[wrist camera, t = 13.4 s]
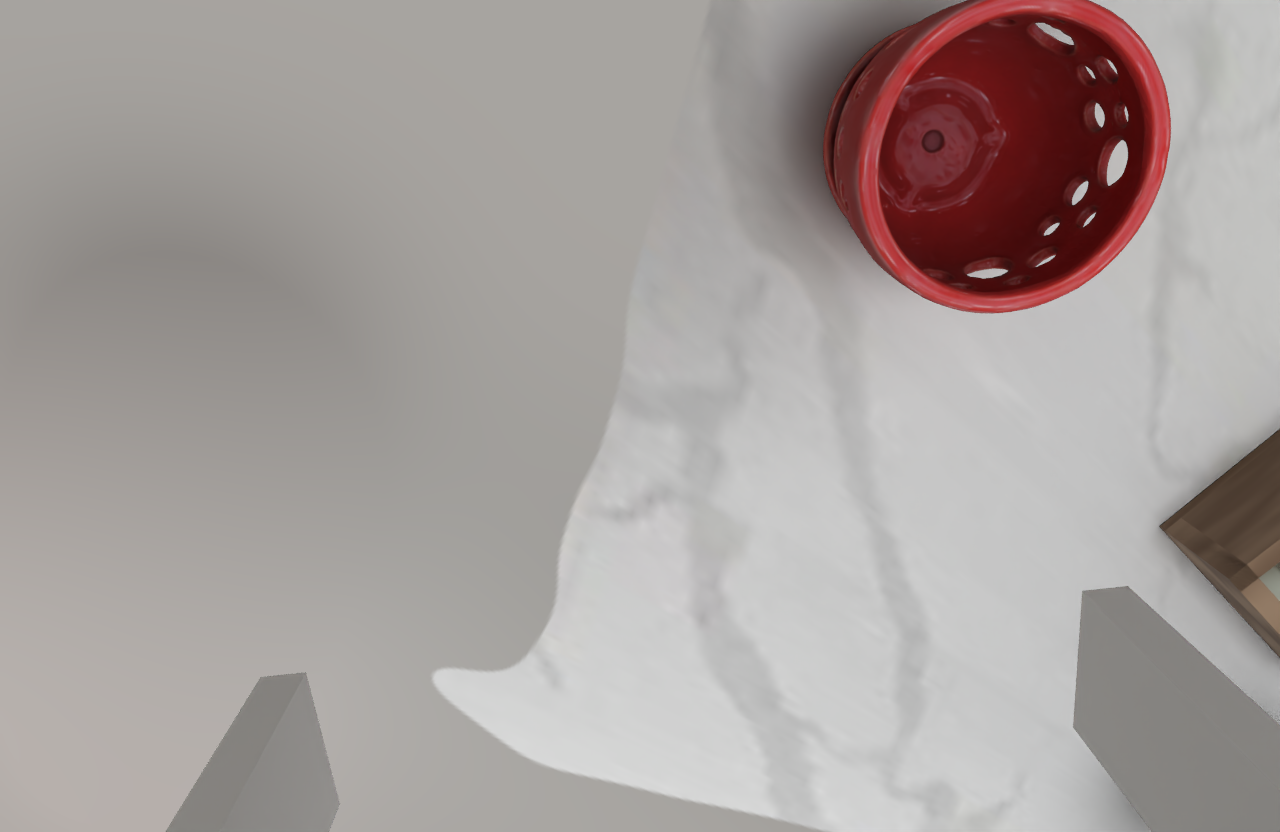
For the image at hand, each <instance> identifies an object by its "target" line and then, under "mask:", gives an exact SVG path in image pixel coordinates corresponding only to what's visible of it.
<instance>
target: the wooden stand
mask: <svg viewBox="0 0 1280 832" xmlns="http://www.w3.org/2000/svg"><path fill="white" fill-rule="evenodd" d="M1159 527H1160V528H1161V529H1162V530H1163V531H1164V532H1165V533H1166V534H1167V535H1168V537H1169V538H1170V539H1171V540H1172V541H1173V542H1174V543H1175V544H1176V545H1177V546H1178V547H1179V549H1180V550H1181V551H1182V552H1183V553H1184V554H1185V555H1186V556H1187V557H1188V558H1189V559H1190V561H1191V562H1192V563H1193V564H1194V565H1195V566H1196V567H1197V568H1198V569H1199V570H1200V571H1201V573H1202V574H1203V575H1204V576H1205V577H1206V578H1207V579H1208V580H1209V581H1210V582H1211V583H1212V584H1213V586H1214V587H1215V588H1216V589H1217V590H1218V591H1219V592H1220V593H1221V594H1222V595H1223V596H1224V598H1225V599H1226V600H1227V601H1228V602H1229V603H1230V604H1231V605H1232V606H1233V607H1234V608H1235V610H1236V611H1237V612H1238V613H1239V614H1240V615H1241V616H1242V617H1243V618H1244V619H1245V620H1246V622H1247V623H1248V624H1249V625H1250V626H1251V627H1252V628H1253V629H1254V630H1255V631H1256V632H1257V634H1258V635H1259V636H1260V637H1261V638H1262V639H1263V640H1264V641H1265V642H1266V643H1267V644H1268V646H1269V647H1270V648H1271V649H1272V650H1273V651H1274V652H1275V653H1276V654H1277V655H1278V656H1279V657H1280V569H1279V568H1278V567H1277V566H1276V564H1278V563H1279V562H1280V430H1278V431H1277V432H1276V433H1275V434H1274V435H1272V436H1271V437H1270V438H1269V439H1267V440H1266V441H1265V442H1264V443H1262V444H1261V445H1260V446H1259V447H1257V448H1256V449H1255V450H1254V451H1252V452H1251V453H1250V454H1249V455H1247V456H1246V457H1245V458H1244V459H1243V460H1241V461H1240V462H1239V463H1238V464H1236V465H1235V466H1234V467H1233V468H1231V469H1230V470H1229V471H1228V472H1226V473H1225V474H1224V475H1223V476H1221V477H1220V478H1219V479H1218V480H1216V481H1215V482H1214V483H1213V484H1211V485H1210V486H1209V487H1208V488H1207V489H1205V490H1204V491H1203V492H1202V493H1200V494H1199V495H1198V496H1197V497H1195V498H1194V499H1193V500H1192V501H1190V502H1189V503H1188V504H1187V505H1185V506H1184V507H1183V508H1182V509H1180V510H1179V511H1178V512H1177V513H1176V514H1174V515H1173V516H1172V517H1171V518H1169V519H1168V520H1167V521H1166V522H1164V523H1163V524H1162V525H1161V526H1159Z"/></svg>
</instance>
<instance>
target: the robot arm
mask: <svg viewBox="0 0 1280 832" xmlns="http://www.w3.org/2000/svg"><path fill="white" fill-rule="evenodd" d="M1073 728H1074V729H1075V730H1076V732H1077V733H1078V734H1079V736H1080V737H1081V738H1082V740H1083V741H1084V742H1085V743H1086V745H1087V746H1088V747H1089V749H1090V750H1091V751H1092V753H1093V754H1094V755H1095V757H1096V758H1097V759H1098V761H1099V762H1100V763H1101V765H1102V766H1103V767H1104V769H1105V770H1106V771H1107V773H1108V774H1109V775H1110V777H1111V778H1112V779H1113V781H1114V782H1115V783H1116V785H1117V786H1118V787H1119V789H1120V790H1121V791H1122V792H1123V794H1124V795H1125V796H1126V798H1127V799H1128V800H1129V802H1130V803H1131V804H1132V806H1133V807H1134V808H1135V810H1136V811H1137V812H1138V814H1139V815H1140V816H1141V818H1142V819H1143V820H1144V822H1145V823H1146V824H1147V826H1148V827H1149V828H1150V830H1151V831H1152V832H1280V725H1279V724H1278V723H1277V722H1276V721H1275V720H1274V719H1272V718H1271V717H1270V716H1269V715H1268V714H1267V713H1266V712H1265V711H1264V710H1263V709H1262V708H1260V707H1259V706H1258V705H1257V704H1256V703H1255V702H1254V701H1253V700H1252V699H1251V698H1249V697H1248V696H1247V695H1246V694H1245V693H1244V692H1243V691H1242V690H1241V689H1240V688H1239V687H1237V686H1236V685H1235V684H1234V683H1233V682H1232V681H1231V680H1230V679H1229V678H1228V677H1226V676H1225V675H1224V674H1223V673H1222V672H1221V671H1220V670H1219V669H1218V668H1217V667H1216V666H1214V665H1213V664H1212V663H1211V662H1210V661H1209V660H1208V659H1207V658H1206V657H1205V656H1204V655H1202V654H1201V653H1200V652H1199V651H1198V650H1197V649H1196V648H1195V647H1194V646H1193V645H1191V644H1190V643H1189V642H1188V641H1187V640H1186V639H1185V638H1184V637H1183V636H1182V635H1181V634H1179V633H1178V632H1177V631H1176V630H1175V629H1174V628H1173V627H1172V626H1171V625H1170V624H1168V623H1167V622H1166V621H1165V620H1164V619H1163V618H1162V617H1161V616H1160V615H1159V614H1158V613H1156V612H1155V611H1154V610H1153V609H1152V608H1151V607H1150V606H1149V605H1148V604H1147V603H1145V602H1144V601H1143V600H1142V599H1141V598H1140V597H1139V596H1138V595H1137V594H1136V593H1135V592H1133V591H1132V590H1131V589H1130V588H1129V587H1128V586H1125V587H1116V588H1106V589H1097V590H1087V591H1082V604H1081V619H1080V633H1079V648H1078V663H1077V678H1076V692H1075V707H1074V722H1073ZM339 805H340V803H339V799H338V795H337V791H336V787H335V784H334V780H333V776H332V772H331V768H330V764H329V760H328V756H327V752H326V749H325V745H324V741H323V737H322V733H321V729H320V725H319V721H318V718H317V714H316V710H315V706H314V702H313V698H312V694H311V690H310V686H309V683H308V679H307V675H306V673H296V674H286V675H277V676H267V677H261V678H260V679H259V681H258V682H257V684H256V686H255V687H254V689H253V690H252V692H251V694H250V695H249V697H248V699H247V700H246V702H245V704H244V705H243V707H242V708H241V710H240V712H239V714H238V715H237V716H236V718H235V720H234V721H233V723H232V725H231V726H230V728H229V730H228V731H227V733H226V734H225V736H224V738H223V739H222V741H221V743H220V744H219V746H218V748H217V749H216V751H215V752H214V754H213V755H212V757H211V759H210V761H209V762H208V764H207V765H206V767H205V768H204V770H203V772H202V773H201V775H200V777H199V778H198V780H197V782H196V783H195V785H194V786H193V788H192V790H191V791H190V793H189V795H188V796H187V798H186V799H185V801H184V803H183V804H182V806H181V808H180V809H179V811H178V812H177V814H176V816H175V817H174V819H173V821H172V822H171V824H170V825H169V827H168V829H167V830H166V832H329V831H330V828H331V825H332V823H333V820H334V818H335V815H336V812H337V810H338V807H339Z"/></svg>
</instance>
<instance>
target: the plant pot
mask: <svg viewBox="0 0 1280 832" xmlns="http://www.w3.org/2000/svg"><path fill="white" fill-rule="evenodd" d="M1038 22H1039V23H1046V24H1048V25H1050V26H1052V27H1053V28H1056V29H1059V30H1061V31H1062V32H1063V33H1064V34H1066V35H1068V36H1070V37H1071V38H1072V40H1073V42H1074V45H1069V44H1066V43H1063V42H1061V41H1059V40H1057V39H1055V38H1054V37H1052V36H1050V35H1049V34H1047V33H1045V32H1044V31H1043V30H1042V29H1040V28H1039V27H1038V26H1037V25H1036V24H1035V23H1038ZM1107 59H1108V60H1110V61H1111V62H1112V63H1113V64H1114V66H1115V68H1116V69H1117V74H1116V73H1115V71H1114V70H1113V69H1112V68H1111V66H1110V65H1109V63H1108V61H1107ZM1085 66H1087V67H1088V68H1090V69H1091V70H1092V72H1093V73H1094V76H1095V78H1096V79H1094V78H1092V76H1091V75H1090V74H1089V72H1088V71H1087V69H1086V67H1085ZM1096 103H1098V104H1099V105H1100V106H1101V108H1102V109H1103V111H1104V115H1105V121H1104V125H1103V127H1102V128H1101V127H1100V126H1099V125H1098V123H1097V121H1096V118H1095V105H1096ZM1125 106H1126V108H1127V111H1128V115H1129V116H1128V122H1127V120H1126V115H1125V112H1124V109H1125ZM1170 138H1171V118H1170V109H1169V103H1168V97H1167V92H1166V88H1165V84H1164V82H1163V79H1162V76H1161V73H1160V71H1159V69H1158V67H1157V64H1156V62H1155V60H1154V58H1153V56H1152V54H1151V52H1150V50H1149V49H1148V47H1147V46H1146V44H1145V43H1144V42H1143V40H1142V39H1141V38H1140V36H1139V35H1138V34H1137V33H1136V32H1135V31H1134V30H1133V29H1132V28H1131V27H1130V26H1129V25H1128V24H1127V23H1126V22H1125V21H1124V20H1123V19H1121V18H1120V17H1118V16H1117V15H1116V14H1114V13H1113V12H1112V11H1110V10H1108V9H1106V8H1104V7H1102V6H1100V5H1098V4H1096V3H1094V2H1091V1H1089V0H967V1H965V2H962V3H959V4H956V5H953V6H951V7H948V8H946V9H943V10H941V11H939V12H937V13H935V14H933V15H931V16H929V17H927V18H925V19H923V20H922V21H920V22H918V23H916V24H914V25H912V26H909V27H906V28H904V29H901V30H899V31H897V32H895V33H893V34H892V35H890V36H888V37H886V38H885V39H883V40H882V41H880V42H879V43H878V44H876V45H875V46H874V47H873V48H872V49H870V50H869V51H868V52H867V53H866V54H865V55H864V56H863V57H862V58H861V59H860V60H859V61H858V62H857V64H856V65H855V66H854V67H853V68H852V70H851V71H850V72H849V74H848V75H847V77H846V78H845V80H844V81H843V83H842V85H841V86H840V88H839V90H838V92H837V94H836V96H835V98H834V101H833V103H832V105H831V108H830V111H829V114H828V119H827V123H826V127H825V133H824V142H823V158H824V167H825V173H826V177H827V181H828V185H829V187H830V190H831V193H832V195H833V197H834V199H835V201H836V203H837V205H838V207H839V208H840V210H841V211H842V213H843V214H844V216H845V217H846V218H847V220H848V222H849V224H850V226H851V227H852V229H853V230H854V232H855V233H856V235H857V236H858V238H859V239H860V241H861V243H862V244H863V246H864V247H865V249H866V250H867V252H868V253H869V254H870V256H871V257H872V258H873V259H874V260H875V262H876V263H877V264H878V265H879V266H880V267H881V268H883V269H884V270H885V271H886V272H887V273H888V274H889V275H891V276H892V277H893V278H894V279H896V280H897V281H898V282H900V283H901V284H903V285H904V286H906V287H907V288H909V289H910V290H912V291H913V292H915V293H917V294H918V295H920V296H922V297H923V298H925V299H928V300H930V301H932V302H934V303H937V304H940V305H943V306H946V307H949V308H953V309H957V310H961V311H966V312H974V313H1003V312H1012V311H1018V310H1023V309H1028V308H1032V307H1036V306H1039V305H1041V304H1044V303H1047V302H1049V301H1052V300H1054V299H1057V298H1059V297H1061V296H1063V295H1065V294H1068V293H1069V292H1071V291H1073V290H1075V289H1077V288H1079V287H1080V286H1082V285H1083V284H1085V283H1086V282H1087V281H1089V280H1090V279H1092V278H1093V277H1094V276H1096V275H1097V274H1098V273H1100V272H1101V271H1102V270H1103V269H1104V268H1105V267H1106V266H1107V265H1108V264H1109V263H1110V262H1111V261H1112V260H1113V259H1114V258H1115V257H1116V256H1117V255H1118V254H1119V253H1120V252H1121V251H1122V250H1123V249H1124V248H1125V246H1126V245H1127V244H1128V243H1129V242H1130V240H1131V239H1132V238H1133V236H1134V235H1135V234H1136V232H1137V231H1138V229H1139V228H1140V226H1141V224H1142V223H1143V221H1144V220H1145V218H1146V216H1147V215H1148V213H1149V211H1150V209H1151V207H1152V205H1153V203H1154V200H1155V198H1156V196H1157V193H1158V191H1159V188H1160V186H1161V183H1162V180H1163V177H1164V173H1165V169H1166V164H1167V158H1168V152H1169V148H1170ZM1121 140H1124V141H1125V142H1126V144H1127V148H1128V160H1127V165H1126V168H1125V170H1124V173H1123V175H1122V176H1121V177H1120V178H1119V180H1117V181H1116V182H1115V183H1113V184H1112V185H1111V186H1108V184H1107V167H1108V162H1109V159H1110V156H1111V154H1112V152H1113V150H1114V148H1115V146H1116V145H1117V144H1118V143H1119V142H1120V141H1121ZM1085 181H1088V182H1089V183H1088V189H1087V192H1086V193H1085V195H1084V196H1083V198H1082V199H1081V200H1080V201H1079V202H1078V203H1077V204H1075V205H1072V197H1073V195H1074V193H1075V191H1076V190H1077V188H1078V187H1079V186H1080V185H1081V184H1082V183H1083V182H1085ZM1095 212H1096V214H1095V217H1094V218H1093V219H1092V220H1091V222H1090V223H1089V224H1087V225H1086V226H1085V227H1083V226H1084V223H1085V222H1086V220H1087V219H1088V218H1089V217H1090V216H1091V215H1092V214H1094V213H1095ZM1055 223H1060V225H1059V226H1058V227H1057V228H1056V229H1055V231H1053V232H1052V233H1051V234H1049V235H1046V236H1044V233H1045V231H1046V230H1047V229H1048V228H1049V227H1050V226H1052V225H1053V224H1055ZM1053 255H1056V256H1055V257H1054V258H1053V259H1052V260H1050V261H1049V262H1047V263H1044V264H1042V265H1040V266H1038V267H1036V266H1037V265H1038V264H1039V263H1041V262H1042V261H1043V260H1045V259H1047V258H1049V257H1051V256H1053ZM992 268H996V269H1005V270H1008V272H1006V273H1005V274H1003V275H1001V276H997V277H993V278H986V279H982V278H976V277H969V276H968V275H967V274H969V273H973V272H975V271H979V270H984V269H992Z"/></svg>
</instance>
